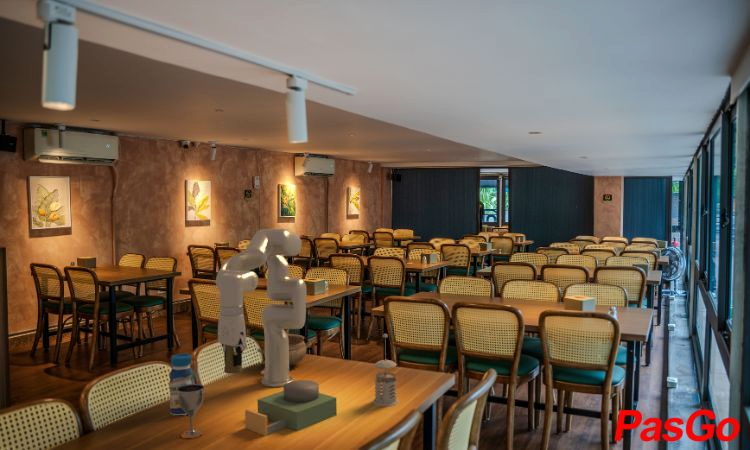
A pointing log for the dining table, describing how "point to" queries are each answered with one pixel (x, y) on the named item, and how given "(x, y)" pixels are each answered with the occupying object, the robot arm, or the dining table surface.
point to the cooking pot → (294, 348)
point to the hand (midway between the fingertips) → (233, 363)
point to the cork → (231, 361)
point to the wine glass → (191, 402)
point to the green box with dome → (291, 408)
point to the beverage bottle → (179, 380)
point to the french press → (387, 387)
